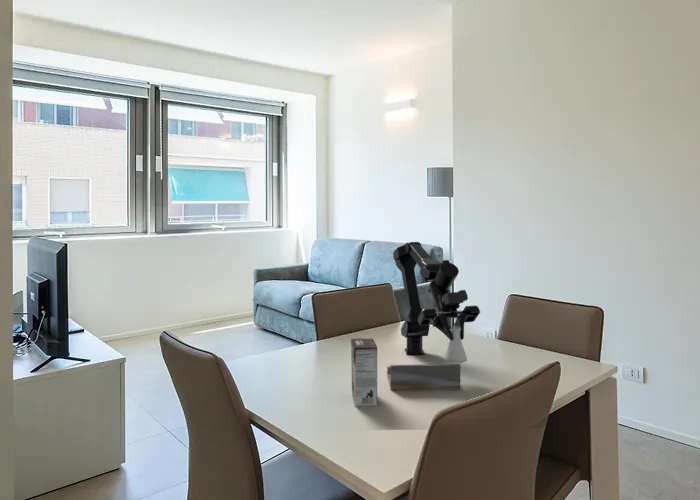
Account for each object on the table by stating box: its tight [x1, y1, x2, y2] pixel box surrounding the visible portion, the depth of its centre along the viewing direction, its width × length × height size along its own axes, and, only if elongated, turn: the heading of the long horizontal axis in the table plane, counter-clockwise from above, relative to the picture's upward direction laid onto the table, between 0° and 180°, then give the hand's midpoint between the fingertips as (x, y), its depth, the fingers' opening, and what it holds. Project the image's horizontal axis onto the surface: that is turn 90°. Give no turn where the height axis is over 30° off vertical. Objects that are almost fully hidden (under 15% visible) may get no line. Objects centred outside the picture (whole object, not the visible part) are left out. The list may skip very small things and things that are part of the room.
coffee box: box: [350, 338, 378, 407], centre depth 143 cm, size 9×6×16 cm
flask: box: [443, 325, 468, 364], centre depth 157 cm, size 7×7×10 cm
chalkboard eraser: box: [386, 363, 461, 391], centre depth 157 cm, size 14×20×7 cm
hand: (457, 339), depth 155 cm, fingers closed on flask, 3 cm apart
